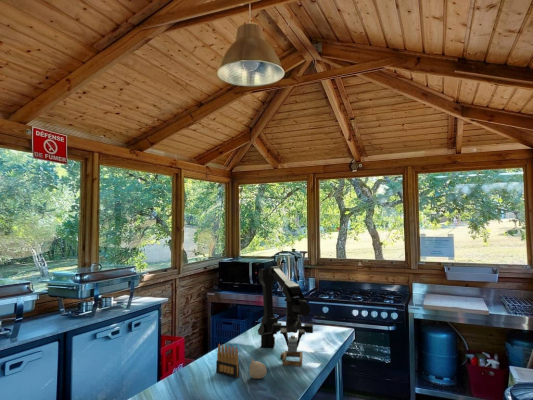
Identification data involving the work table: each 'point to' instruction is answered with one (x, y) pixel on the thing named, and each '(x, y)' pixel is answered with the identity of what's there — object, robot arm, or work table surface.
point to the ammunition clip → (227, 362)
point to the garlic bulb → (257, 369)
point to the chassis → (291, 363)
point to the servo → (292, 344)
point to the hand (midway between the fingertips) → (292, 346)
